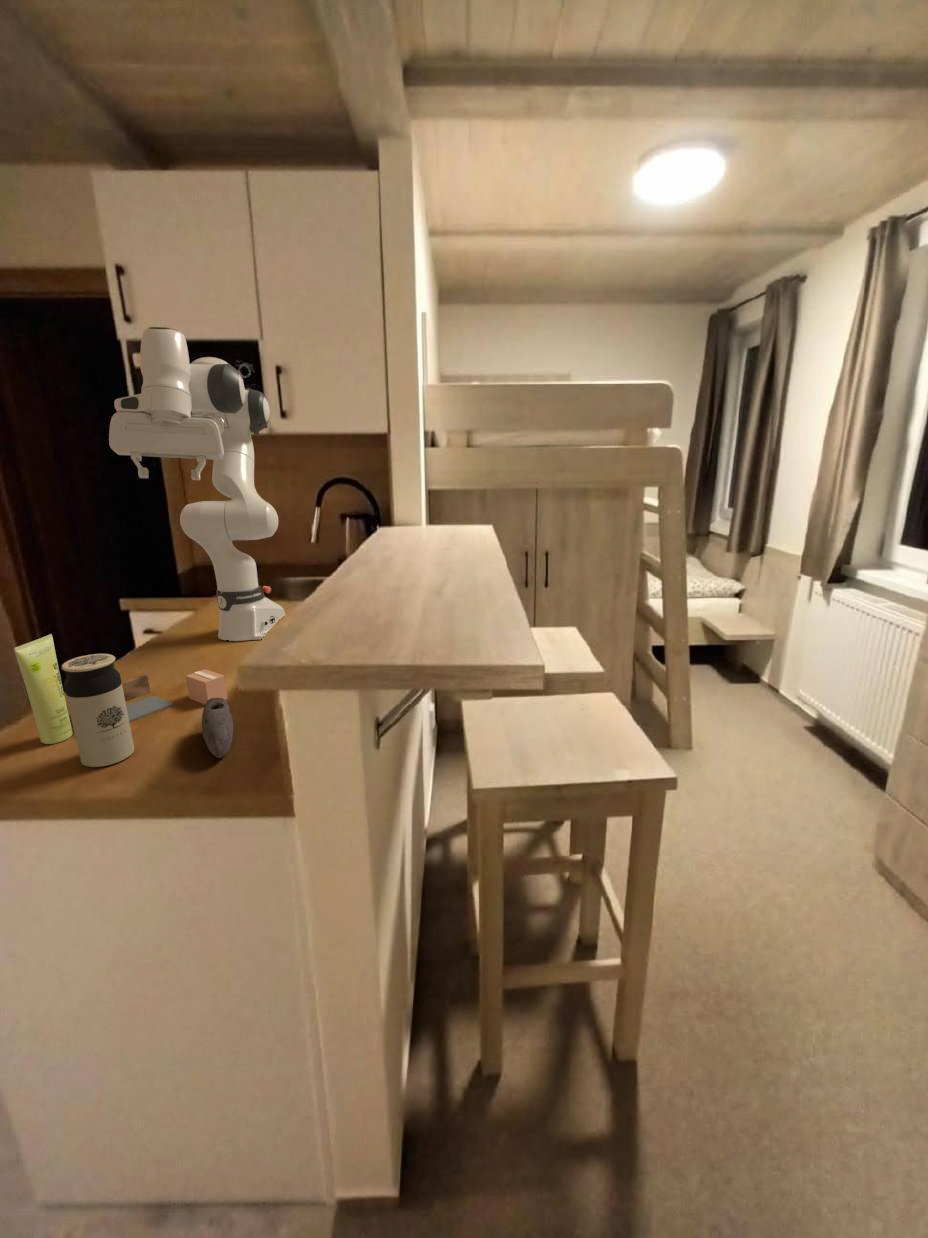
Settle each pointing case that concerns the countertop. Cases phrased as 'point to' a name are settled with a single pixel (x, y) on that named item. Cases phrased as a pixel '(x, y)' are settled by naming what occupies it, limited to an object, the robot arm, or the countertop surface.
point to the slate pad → (146, 707)
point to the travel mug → (98, 710)
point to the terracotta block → (206, 686)
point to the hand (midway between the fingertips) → (170, 478)
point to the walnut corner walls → (136, 687)
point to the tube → (45, 689)
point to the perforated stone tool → (217, 726)
